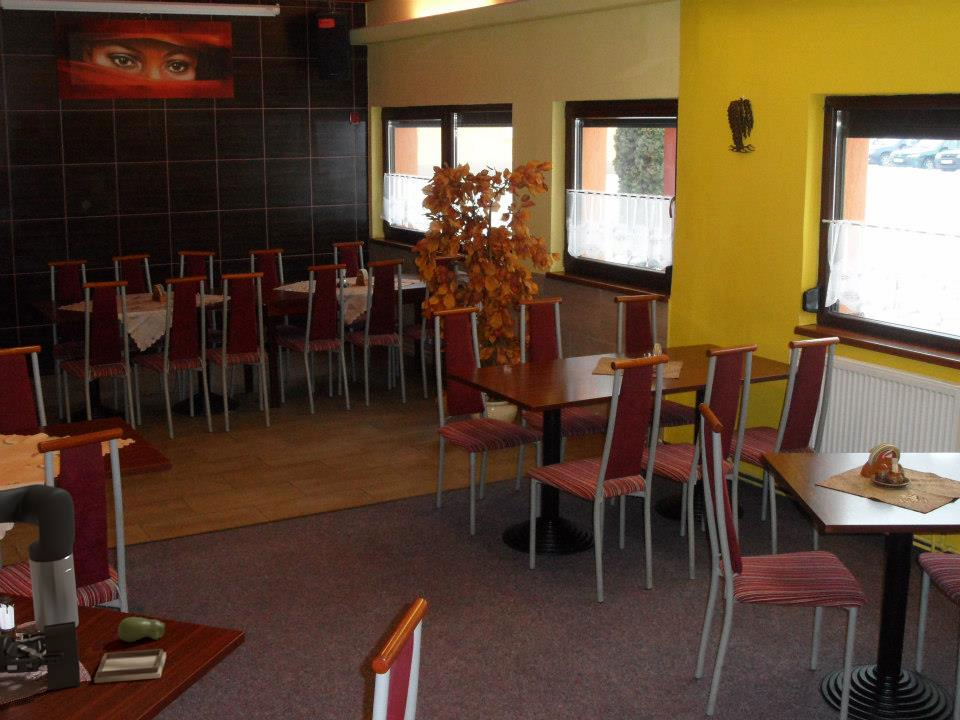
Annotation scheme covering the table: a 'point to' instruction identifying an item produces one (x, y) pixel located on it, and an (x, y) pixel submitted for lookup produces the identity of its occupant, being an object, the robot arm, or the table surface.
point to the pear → (140, 629)
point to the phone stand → (64, 641)
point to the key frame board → (131, 665)
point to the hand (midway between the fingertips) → (68, 648)
